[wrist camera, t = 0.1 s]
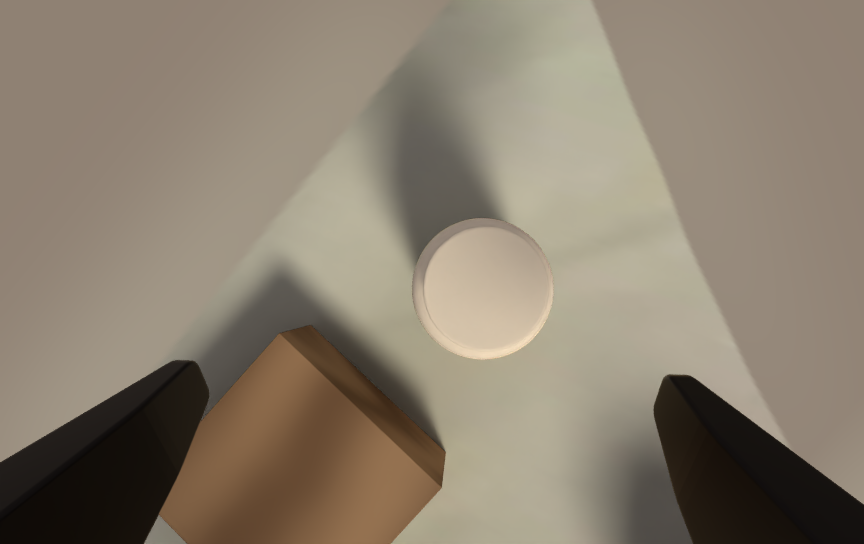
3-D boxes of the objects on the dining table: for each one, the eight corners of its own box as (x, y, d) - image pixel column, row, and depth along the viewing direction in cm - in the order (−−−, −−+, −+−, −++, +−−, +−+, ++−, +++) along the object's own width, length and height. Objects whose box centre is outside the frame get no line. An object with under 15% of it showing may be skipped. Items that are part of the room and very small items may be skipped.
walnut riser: (445, 452, 23) (441, 487, 19) (321, 588, 23) (291, 651, 19) (310, 325, 24) (279, 333, 20) (191, 458, 24) (137, 492, 20)
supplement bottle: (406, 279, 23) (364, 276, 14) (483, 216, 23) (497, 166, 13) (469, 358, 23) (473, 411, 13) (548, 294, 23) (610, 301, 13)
